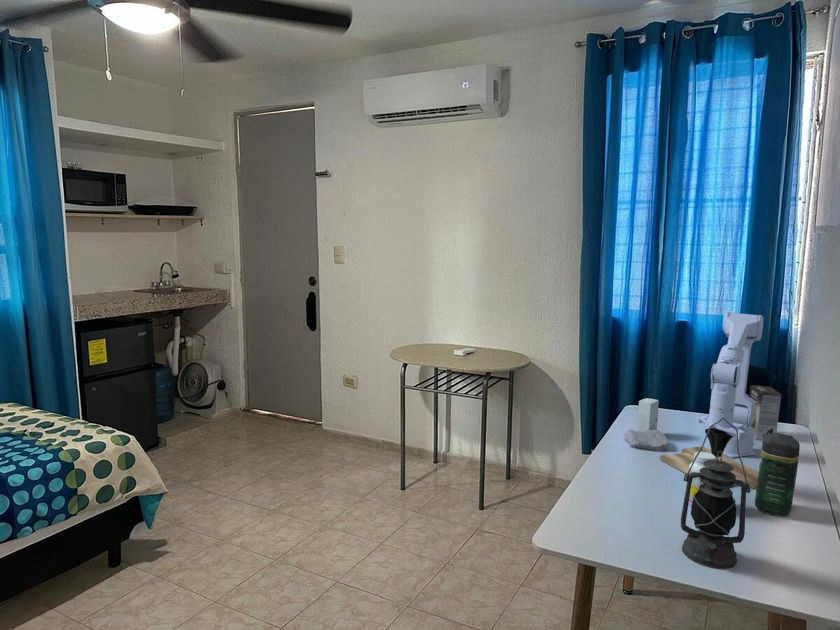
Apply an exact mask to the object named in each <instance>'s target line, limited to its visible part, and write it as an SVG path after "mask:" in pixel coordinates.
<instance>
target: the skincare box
mask: <svg viewBox="0 0 840 630" xmlns="http://www.w3.org/2000/svg"><path fill="white" fill-rule="evenodd" d="M659 402H660V401H659V400H658V399H654V398H649V397H647V398H643V399H641V400H640V399H639V401H638V411H637V413H638V414H637V424H636V425H637V426H636V431H638V432H642V431H645V430H658V418H659V417H658V416H659V405H660V404H659Z"/></svg>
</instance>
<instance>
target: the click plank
mask: <svg viewBox="0 0 840 630" xmlns="http://www.w3.org/2000/svg"><path fill="white" fill-rule="evenodd" d="M659 460H660V461H662V462H664V463H665V464H668V465H670V467H671V466H672V467H673V468H675V469H677V470H678V471H680V472H682V473H684V474H686V473H688V471H689V465H690V464H691V463H692V462H693V461H694V456H693V455H691V454H689V453H682V452H681V453H680V452H679V453H671V454H670V453H669V454H661V455H659ZM736 479H737V480H741V479H739V478H737V477H736ZM741 481H742V480H741ZM734 486H739V485H738V484H734Z"/></svg>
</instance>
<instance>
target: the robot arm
mask: <svg viewBox="0 0 840 630" xmlns="http://www.w3.org/2000/svg"><path fill="white" fill-rule="evenodd" d="M722 322H723V323H722V330H723V332H724V334H725V336H726V337H727V338H728V340H727V344H725V345H723V346H722V348H721V349H720V352H719V355H718V358H717V361H716V363H713V364H712V367H711V371H710V390H711V395H710V404H709V412H708V413H709V414H708V416H707V415H704V414H697V415H696V420H695V421H696V423H698V424H703V425H704V426H706V427H708V428H706V429H705V431H704V433H705V435H706V434H707V432H708V430H709V427H710V426H711V425H712V424H714V423H716V422H718V421H720V419H721V418H725V419H726V420H727V422H729V423H730V424H731V425H732V426H734V427H735V428H736V429H737V430H738V447H739V454H740V457H741V458H742V457H747V456H748V457H749V456H755V455H756V454H755V452H754V451H753V450H754V444H755V443H754V442H755V438H754V430H753V428H752V427H751V425H752V424H753V419H754V411H755V409H754V405H755V403H754V401H753V400H752V399H751V398H750V397H749V394H747V393H746V392H747V385H748V384H747V383H748V374H749V367H750V358H751V350H752V346H753V344H754V342H759V341H761V339H762V335H763V327H764V316H763V315H762V314H749V313H740V312H739V313H737V312H731V311H727V312H726V313H725V314H724V316H723V321H722ZM707 439H708V441H709V445H710V450H711V452H712V454H713V455H714V456H715V457H717V452H718V451H722V455H723V456H725V457H727V458H730V459H733V458H739V456H738V453H737V436H736V430H735V429H734V428H733V427H731V426H730V425H729V424H728V423H726V422H725V420H724V419H722V421H721V422H719V423H717V424H715V425H714V426H712V427H711V429H710V431H709V434H708V436H707ZM718 457H721V452H718Z"/></svg>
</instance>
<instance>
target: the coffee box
mask: <svg viewBox="0 0 840 630" xmlns="http://www.w3.org/2000/svg"><path fill="white" fill-rule="evenodd" d="M748 396H749V397H750V398H751V399H752V400H753V401H754V403H755V405H754V409H755V411H754V419H753V424H752V425H751V427H752V428H753V430H754V440H756V441H757V440H758V441H760V440H761V441H763V439H764V438H765V437H766V436H767V435H769V434H773V433H777V429H778V425H779V424H778V422H779V417H780V416H779V415H780V407H781V399H782V394H781V393H780V392H778V391H777V390H776V389H774V388H773V387H771V386H763V385H757V384H756V385H755V384H754V385H753V384H751V385H749V394H748Z"/></svg>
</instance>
